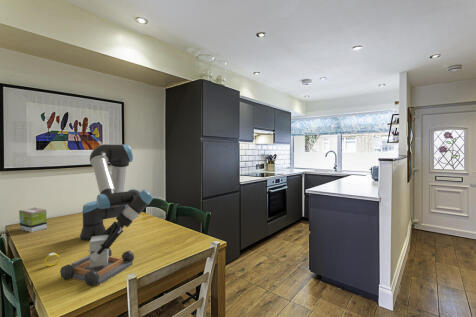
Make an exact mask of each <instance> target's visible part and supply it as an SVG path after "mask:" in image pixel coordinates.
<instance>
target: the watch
mask: <svg viewBox="0 0 476 317" xmlns="http://www.w3.org/2000/svg"><path fill="white" fill-rule="evenodd" d="M54 256H57V258H58V260H57V262H55V263H52V264H47V259H48V258H50V257H54ZM60 260H61V259H60V255H59V254H58V253H56V252H51V253H49V254H48V255H47V256H46V257H45V258H44V265H45V266H46V267H48V268H49V266H50V267H53V266H57V265H58V264H59V262H60ZM52 265H53V266H52Z"/></svg>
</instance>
